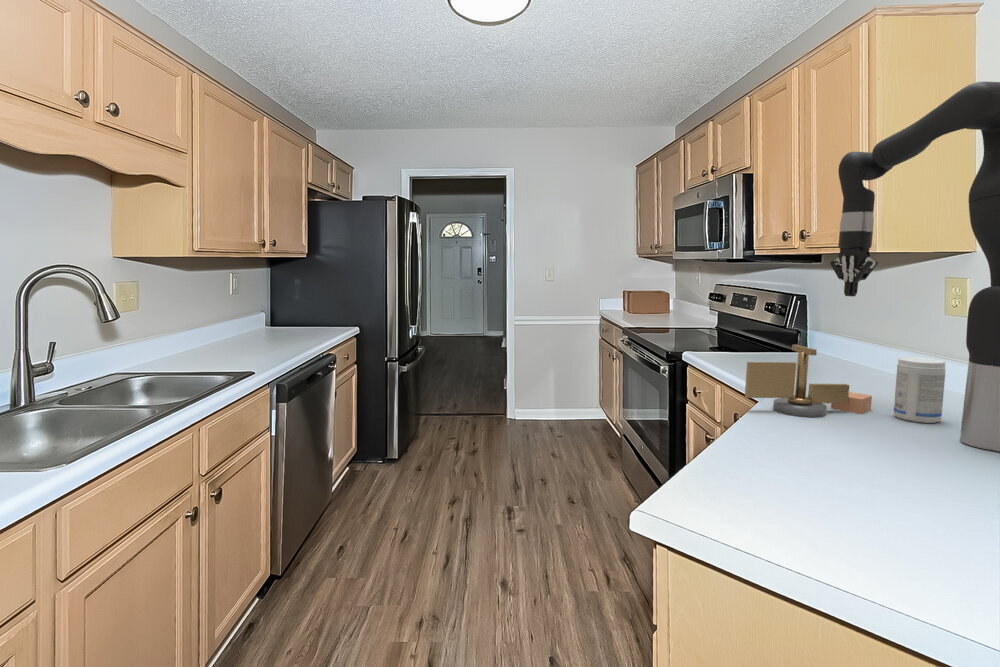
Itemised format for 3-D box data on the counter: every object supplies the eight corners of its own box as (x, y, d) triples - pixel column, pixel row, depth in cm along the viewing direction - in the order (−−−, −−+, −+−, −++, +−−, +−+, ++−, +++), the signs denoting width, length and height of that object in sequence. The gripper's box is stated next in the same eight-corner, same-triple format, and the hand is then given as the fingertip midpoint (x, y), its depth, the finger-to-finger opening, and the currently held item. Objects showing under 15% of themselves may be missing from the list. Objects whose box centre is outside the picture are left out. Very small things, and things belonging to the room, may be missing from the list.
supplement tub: (944, 419, 141) (950, 360, 140) (936, 426, 135) (943, 364, 133) (897, 411, 148) (903, 355, 147) (887, 418, 142) (893, 359, 140)
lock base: (834, 412, 146) (835, 405, 146) (811, 419, 139) (812, 411, 139) (787, 403, 156) (788, 396, 155) (763, 409, 149) (764, 401, 148)
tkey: (835, 398, 152) (839, 345, 150) (857, 406, 143) (862, 350, 141) (737, 397, 151) (741, 344, 149) (753, 406, 142) (757, 349, 140)
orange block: (870, 410, 150) (872, 395, 150) (860, 414, 146) (862, 399, 145) (841, 405, 155) (842, 390, 155) (830, 409, 151) (832, 394, 150)
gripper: (824, 231, 157) (818, 294, 159) (867, 228, 145) (861, 297, 147) (845, 232, 159) (840, 294, 161) (890, 229, 147) (883, 297, 149)
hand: (850, 296), depth 154 cm, fingers closed
